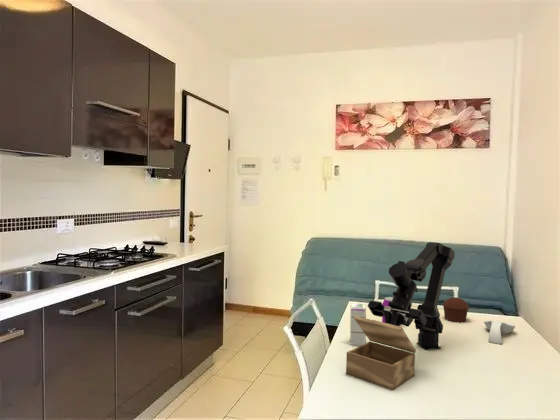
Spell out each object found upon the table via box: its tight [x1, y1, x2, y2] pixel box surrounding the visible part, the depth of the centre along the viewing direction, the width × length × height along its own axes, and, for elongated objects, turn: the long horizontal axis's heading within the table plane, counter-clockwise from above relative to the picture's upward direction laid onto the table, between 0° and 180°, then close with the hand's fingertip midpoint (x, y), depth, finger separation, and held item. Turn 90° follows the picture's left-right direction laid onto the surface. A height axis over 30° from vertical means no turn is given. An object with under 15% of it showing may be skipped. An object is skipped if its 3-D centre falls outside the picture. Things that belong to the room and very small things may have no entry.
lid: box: [354, 316, 416, 354], centre depth 136 cm, size 14×16×1 cm
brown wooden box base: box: [345, 341, 416, 391], centre depth 135 cm, size 14×16×7 cm
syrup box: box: [349, 303, 367, 347], centre depth 164 cm, size 6×6×14 cm
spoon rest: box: [483, 319, 516, 345], centre depth 176 cm, size 24×12×7 cm, turn 149°
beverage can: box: [381, 296, 393, 323], centre depth 186 cm, size 8×8×12 cm
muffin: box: [442, 297, 470, 324], centre depth 198 cm, size 12×11×10 cm
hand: (386, 335), depth 138 cm, fingers closed, pressing on lid
